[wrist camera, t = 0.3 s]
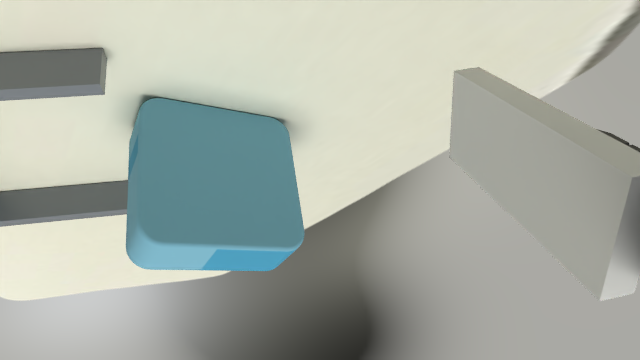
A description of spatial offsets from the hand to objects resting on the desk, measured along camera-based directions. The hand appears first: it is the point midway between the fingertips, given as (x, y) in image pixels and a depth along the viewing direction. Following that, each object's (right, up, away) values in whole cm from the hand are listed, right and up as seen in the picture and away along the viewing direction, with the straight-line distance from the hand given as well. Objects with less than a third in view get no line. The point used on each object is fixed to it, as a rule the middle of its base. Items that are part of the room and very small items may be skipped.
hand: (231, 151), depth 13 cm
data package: (-7, +4, +27) cm, 28 cm away
